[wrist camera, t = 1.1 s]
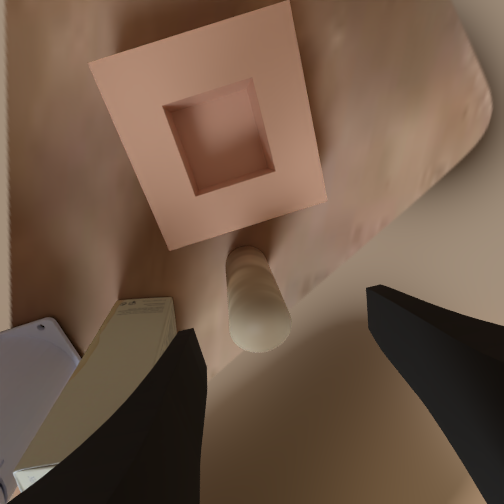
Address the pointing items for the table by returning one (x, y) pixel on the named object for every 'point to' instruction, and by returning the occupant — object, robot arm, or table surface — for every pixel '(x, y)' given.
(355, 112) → the table surface
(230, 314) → the beech peg
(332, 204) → the table surface
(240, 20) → the socket block
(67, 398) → the skincare box
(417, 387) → the robot arm
